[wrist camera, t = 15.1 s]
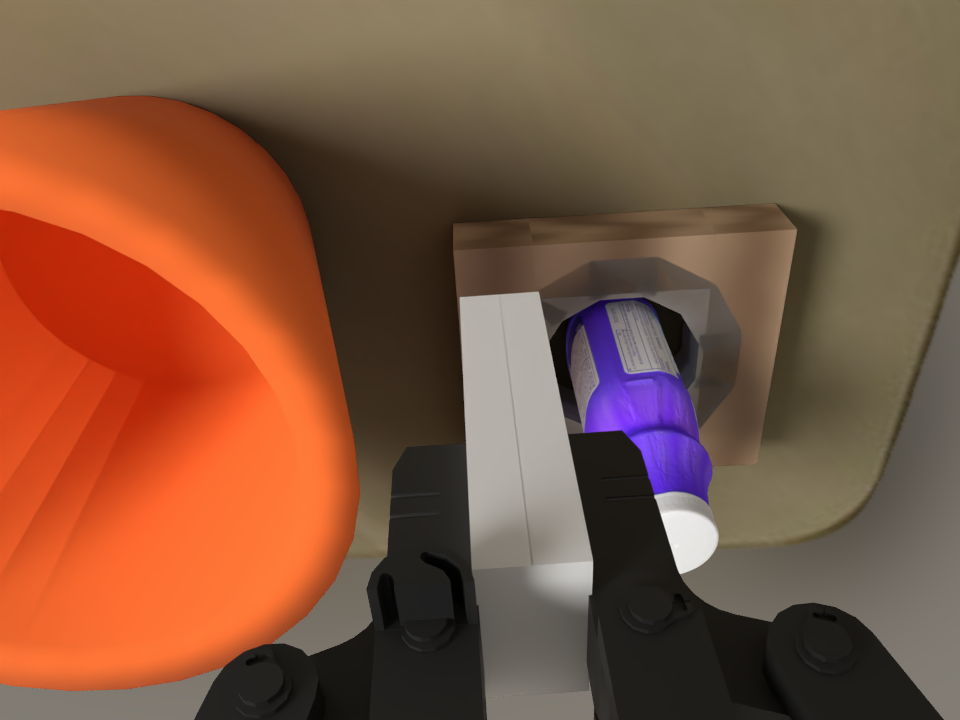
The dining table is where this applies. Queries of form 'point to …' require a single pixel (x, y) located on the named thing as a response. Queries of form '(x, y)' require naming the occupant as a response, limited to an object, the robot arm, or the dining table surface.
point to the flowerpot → (159, 398)
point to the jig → (658, 295)
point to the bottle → (645, 414)
